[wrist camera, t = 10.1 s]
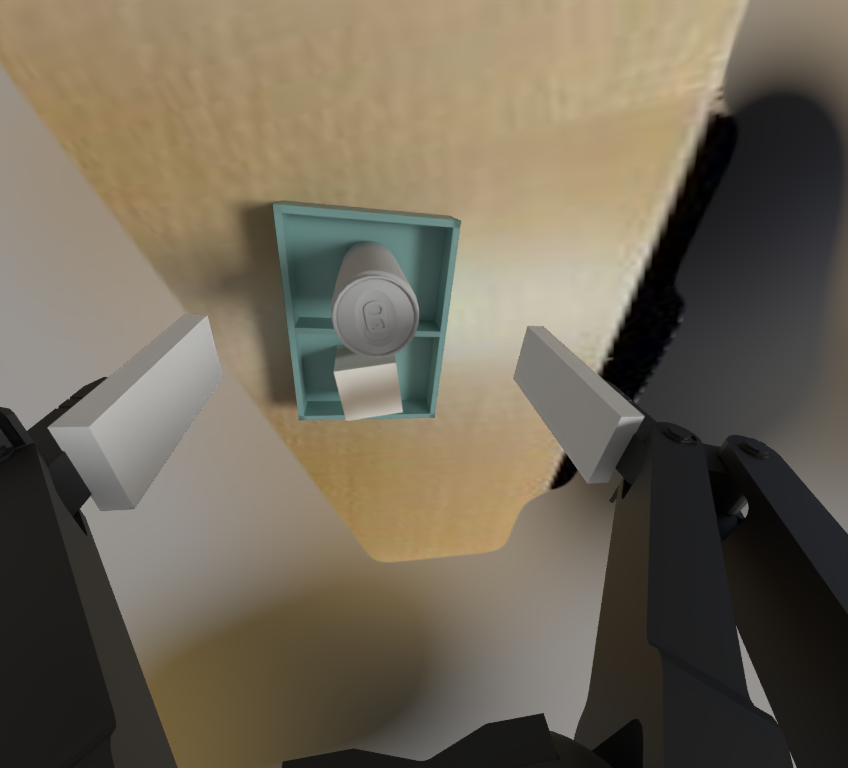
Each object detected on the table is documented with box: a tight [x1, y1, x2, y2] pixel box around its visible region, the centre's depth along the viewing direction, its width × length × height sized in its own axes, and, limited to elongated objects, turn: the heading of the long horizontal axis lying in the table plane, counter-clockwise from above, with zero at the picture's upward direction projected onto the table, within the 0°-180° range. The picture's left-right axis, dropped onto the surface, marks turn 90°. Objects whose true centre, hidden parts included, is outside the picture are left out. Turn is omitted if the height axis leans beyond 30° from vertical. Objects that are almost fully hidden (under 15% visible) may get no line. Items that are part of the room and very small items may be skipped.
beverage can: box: [331, 241, 419, 358], centre depth 23 cm, size 5×5×12 cm
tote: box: [273, 201, 461, 420], centre depth 30 cm, size 18×13×4 cm
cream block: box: [334, 345, 403, 421], centre depth 30 cm, size 5×5×5 cm
